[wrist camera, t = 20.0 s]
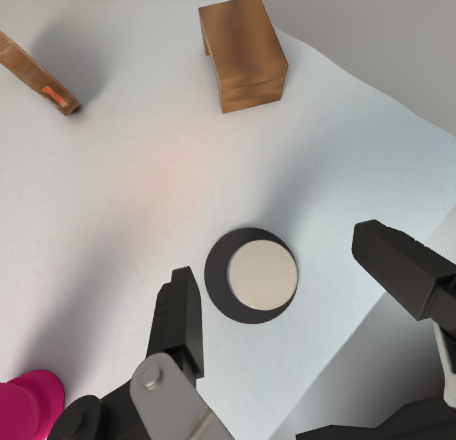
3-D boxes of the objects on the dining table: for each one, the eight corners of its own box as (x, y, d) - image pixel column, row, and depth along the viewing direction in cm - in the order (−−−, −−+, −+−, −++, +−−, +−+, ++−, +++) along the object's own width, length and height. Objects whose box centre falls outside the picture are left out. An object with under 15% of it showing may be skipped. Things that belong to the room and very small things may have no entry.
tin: (93, 115, 29) (37, 53, 21) (75, 130, 29) (11, 73, 20) (30, 62, 32) (-40, -10, 24) (13, 75, 32) (-65, 6, 23)
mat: (280, 219, 24) (281, 218, 24) (309, 309, 22) (311, 310, 21) (196, 240, 24) (195, 239, 24) (216, 333, 22) (216, 335, 21)
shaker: (265, 248, 23) (287, 228, 13) (277, 289, 22) (312, 303, 12) (226, 258, 23) (218, 246, 13) (236, 300, 22) (236, 323, 12)
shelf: (255, 36, 32) (259, -7, 27) (279, 100, 29) (288, 64, 24) (203, 48, 31) (197, 7, 27) (222, 113, 28) (220, 80, 24)
